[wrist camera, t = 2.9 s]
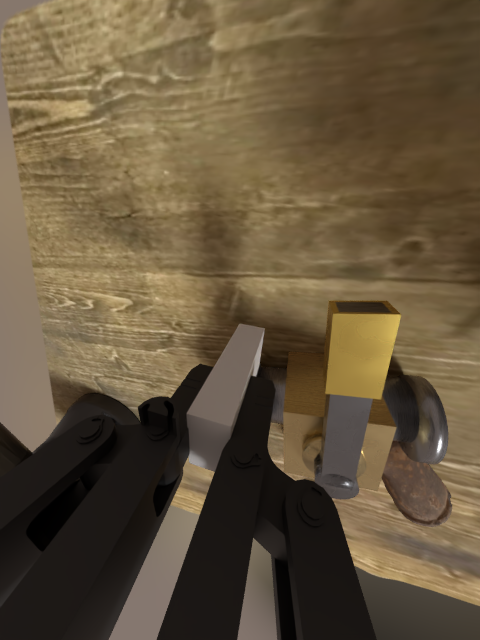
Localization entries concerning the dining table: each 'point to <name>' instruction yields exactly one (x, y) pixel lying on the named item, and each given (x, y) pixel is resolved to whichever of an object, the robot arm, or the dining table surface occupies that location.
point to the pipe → (416, 489)
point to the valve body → (382, 428)
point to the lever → (352, 386)
